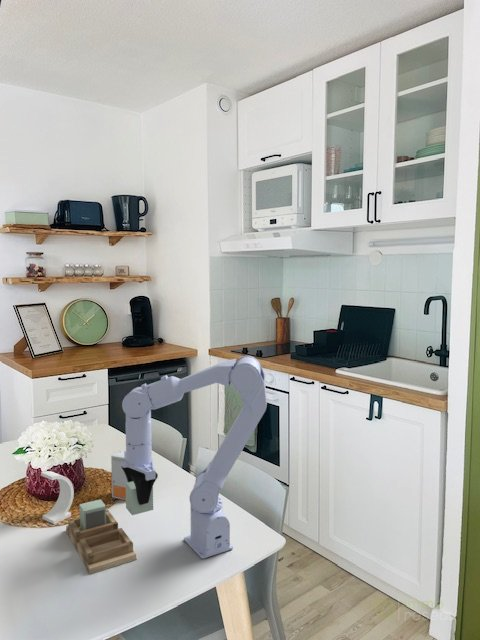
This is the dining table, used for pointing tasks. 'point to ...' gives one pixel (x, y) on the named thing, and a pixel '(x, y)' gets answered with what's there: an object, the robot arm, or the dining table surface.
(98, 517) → the seated block
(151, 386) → the robot arm
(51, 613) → the dining table surface
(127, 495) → the finger block
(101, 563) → the compartment tray
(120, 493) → the skincare box
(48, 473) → the headphone stand
